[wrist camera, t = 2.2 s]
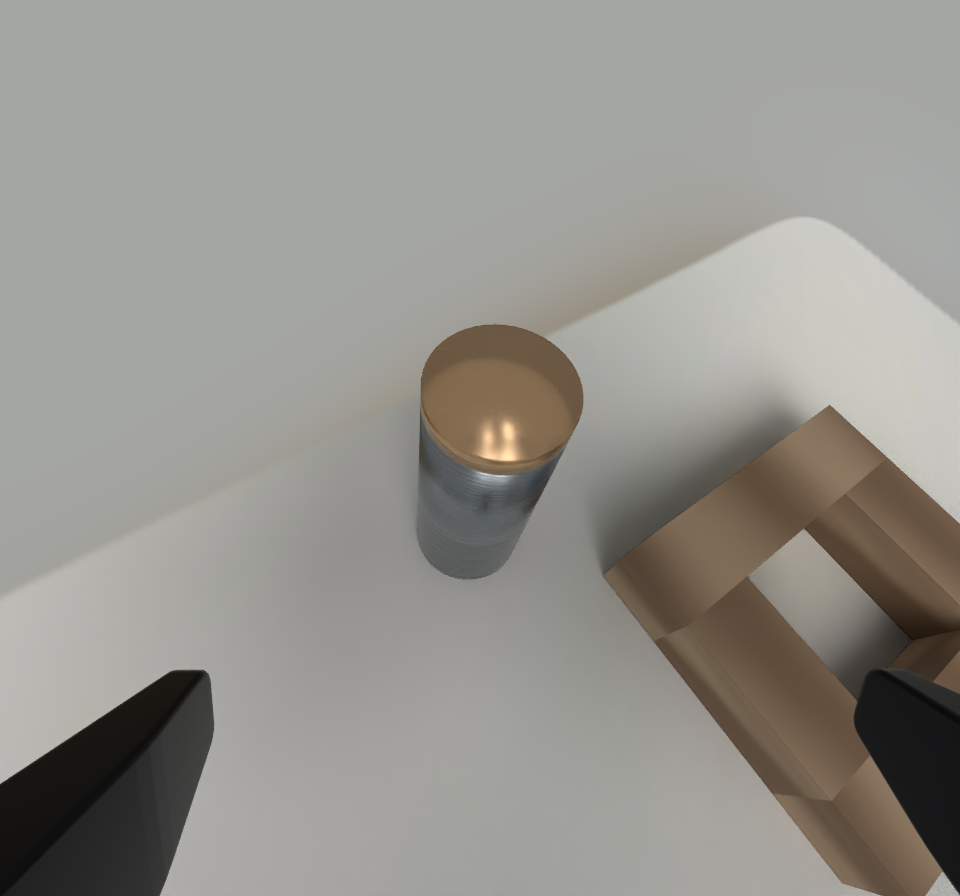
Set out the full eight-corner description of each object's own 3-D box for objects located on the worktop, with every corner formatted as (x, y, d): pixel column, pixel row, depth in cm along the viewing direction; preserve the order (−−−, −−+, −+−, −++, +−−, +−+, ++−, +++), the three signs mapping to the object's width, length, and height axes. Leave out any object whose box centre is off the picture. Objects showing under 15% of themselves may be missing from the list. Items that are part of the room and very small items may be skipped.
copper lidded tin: (453, 599, 21) (483, 490, 12) (398, 515, 22) (389, 363, 13) (535, 544, 22) (615, 411, 13) (479, 469, 23) (519, 303, 15)
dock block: (842, 883, 18) (917, 906, 15) (602, 575, 22) (628, 552, 19) (1015, 661, 22) (1097, 649, 19) (787, 439, 26) (829, 405, 23)
